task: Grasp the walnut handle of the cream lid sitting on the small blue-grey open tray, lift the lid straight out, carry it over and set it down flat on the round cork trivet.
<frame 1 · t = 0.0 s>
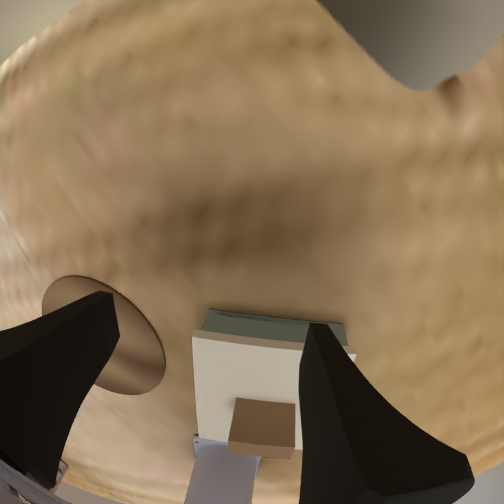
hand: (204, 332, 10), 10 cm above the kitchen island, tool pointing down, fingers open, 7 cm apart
lid: (265, 393, 22), point 2 cm above the kitchen island, touching blue-grey open tray
blue-grey open tray: (267, 374, 24), on the kitchen island
decorative jar: (41, 447, 44), on the kitchen island
trivet: (98, 341, 25), on the kitchen island
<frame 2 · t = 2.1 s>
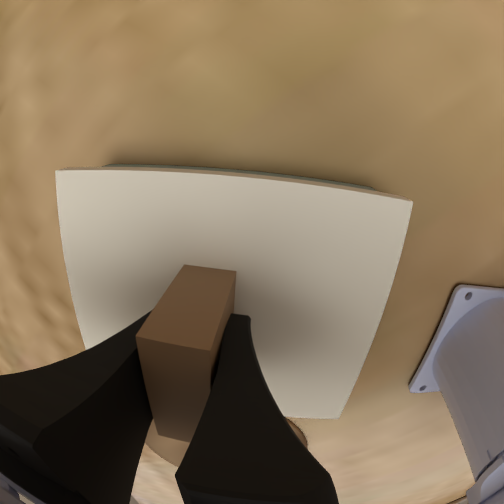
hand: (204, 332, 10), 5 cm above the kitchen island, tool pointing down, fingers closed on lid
lid: (217, 298, 12), point 2 cm above the kitchen island, touching gripper, blue-grey open tray
blue-grey open tray: (226, 275, 14), on the kitchen island
trivet: (220, 446, 21), on the kitchen island
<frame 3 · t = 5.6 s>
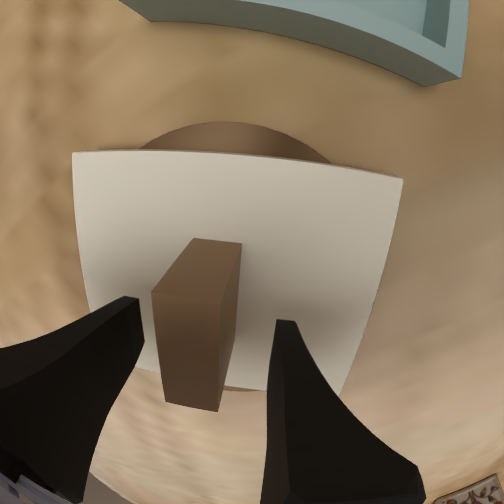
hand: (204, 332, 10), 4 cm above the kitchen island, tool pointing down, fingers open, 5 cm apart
lid: (222, 274, 13), resting on trivet
decorative jar: (457, 496, 26), on the kitchen island
trivet: (223, 281, 14), on the kitchen island
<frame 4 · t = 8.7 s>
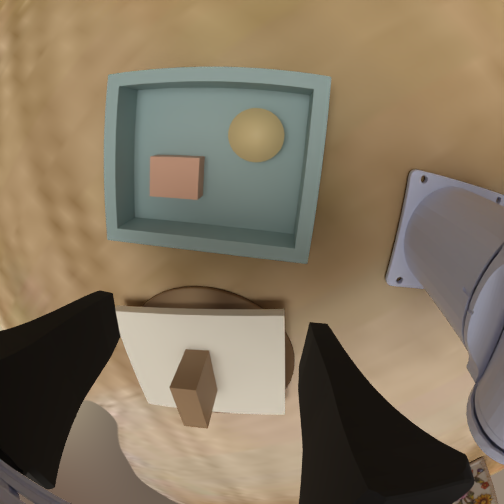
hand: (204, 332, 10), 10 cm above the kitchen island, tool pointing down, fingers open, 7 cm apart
lid: (206, 357, 23), resting on trivet
blue-grey open tray: (215, 156, 18), on the kitchen island
decorative jar: (451, 477, 33), on the kitchen island
trivet: (208, 359, 24), on the kitchen island
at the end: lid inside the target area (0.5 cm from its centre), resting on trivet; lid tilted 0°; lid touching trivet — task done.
